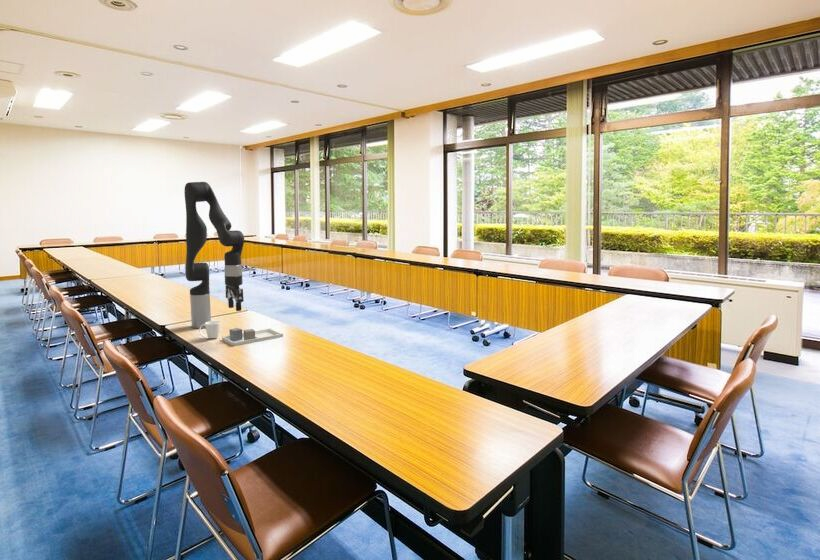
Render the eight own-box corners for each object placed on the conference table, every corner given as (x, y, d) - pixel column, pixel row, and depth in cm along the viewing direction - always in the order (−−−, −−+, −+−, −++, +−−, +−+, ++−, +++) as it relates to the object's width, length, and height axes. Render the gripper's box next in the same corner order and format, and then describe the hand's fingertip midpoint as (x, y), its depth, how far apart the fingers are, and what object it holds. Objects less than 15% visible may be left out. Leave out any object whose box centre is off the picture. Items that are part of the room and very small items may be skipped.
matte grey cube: (229, 339, 215) (229, 329, 215) (237, 338, 219) (237, 327, 218) (234, 341, 213) (234, 331, 212) (242, 339, 216) (242, 329, 215)
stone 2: (243, 340, 215) (243, 330, 214) (252, 339, 217) (252, 328, 217) (246, 342, 212) (246, 331, 211) (255, 341, 214) (254, 330, 213)
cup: (216, 341, 214) (216, 324, 213) (196, 340, 215) (195, 323, 214) (224, 337, 221) (223, 321, 220) (204, 336, 222) (203, 320, 221)
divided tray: (222, 340, 215) (221, 336, 215) (270, 332, 232) (270, 328, 231) (233, 347, 206) (233, 342, 206) (282, 337, 222) (282, 333, 222)
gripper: (219, 273, 214) (220, 307, 216) (231, 277, 203) (233, 313, 206) (235, 272, 219) (236, 305, 221) (248, 275, 209) (249, 310, 211)
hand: (234, 309), depth 214 cm, fingers open, 8 cm apart
